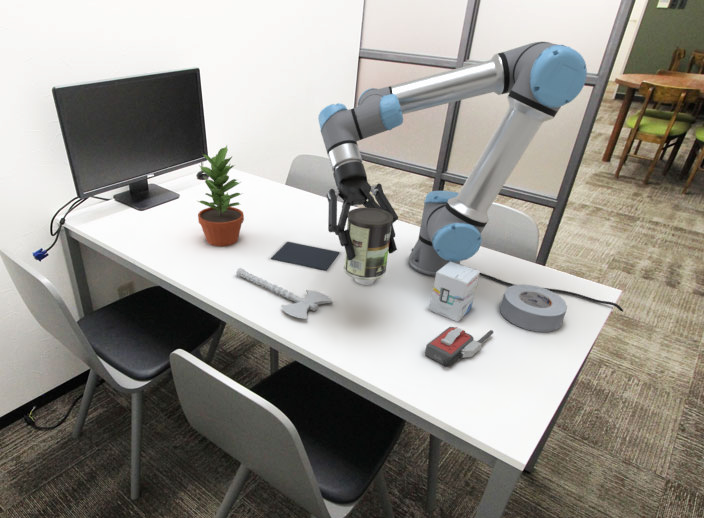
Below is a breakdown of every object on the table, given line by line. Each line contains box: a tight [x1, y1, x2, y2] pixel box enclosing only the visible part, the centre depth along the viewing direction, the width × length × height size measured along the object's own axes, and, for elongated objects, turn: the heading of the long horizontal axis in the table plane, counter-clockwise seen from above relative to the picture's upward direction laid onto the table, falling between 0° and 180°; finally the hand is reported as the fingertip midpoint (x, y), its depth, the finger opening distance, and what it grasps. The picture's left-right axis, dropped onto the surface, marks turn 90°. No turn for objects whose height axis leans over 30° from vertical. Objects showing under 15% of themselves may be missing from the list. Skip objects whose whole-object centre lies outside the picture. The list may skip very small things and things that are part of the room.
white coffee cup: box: [354, 278, 376, 286], centre depth 141 cm, size 7×7×10 cm
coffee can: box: [343, 206, 393, 281], centre depth 116 cm, size 10×10×14 cm
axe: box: [235, 267, 334, 320], centre depth 135 cm, size 30×14×2 cm, turn 50°
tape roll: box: [499, 284, 568, 333], centre depth 129 cm, size 15×15×5 cm
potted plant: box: [197, 145, 245, 247], centre depth 155 cm, size 15×15×30 cm
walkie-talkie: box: [424, 326, 494, 367], centre depth 117 cm, size 9×4×20 cm
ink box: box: [428, 261, 481, 323], centre depth 129 cm, size 9×8×12 cm
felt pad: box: [270, 241, 341, 272], centre depth 155 cm, size 18×13×1 cm
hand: (372, 254), depth 115 cm, fingers closed on coffee can, 10 cm apart
